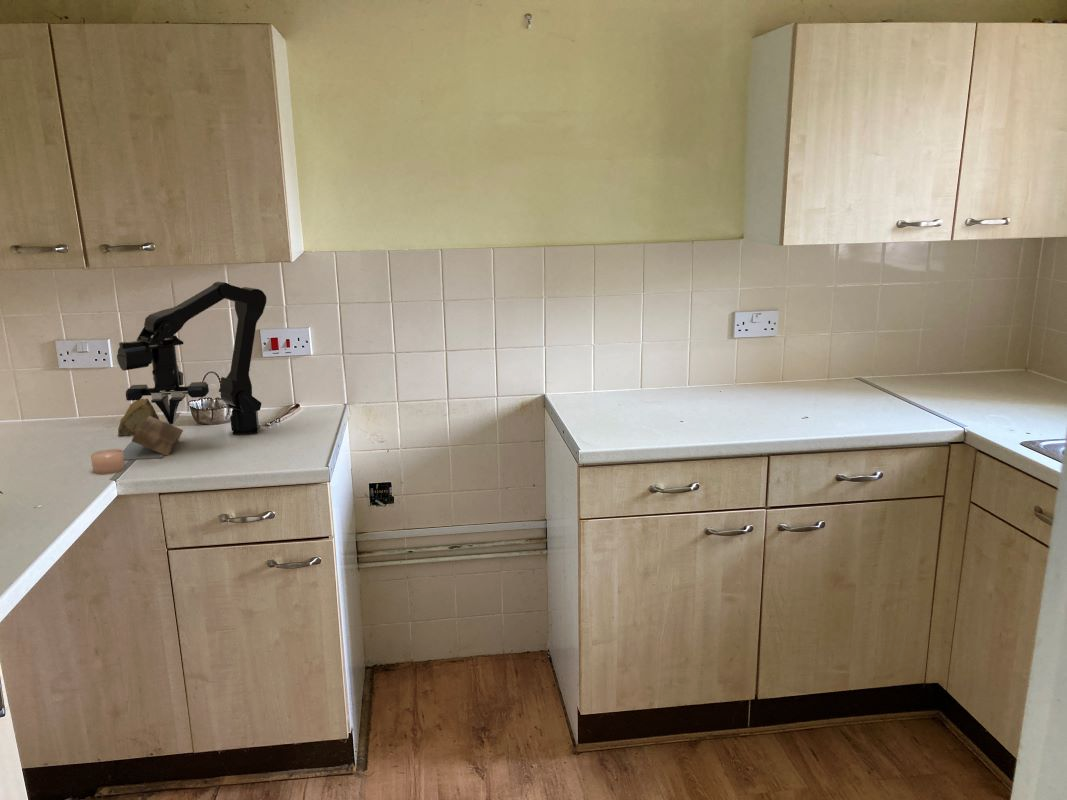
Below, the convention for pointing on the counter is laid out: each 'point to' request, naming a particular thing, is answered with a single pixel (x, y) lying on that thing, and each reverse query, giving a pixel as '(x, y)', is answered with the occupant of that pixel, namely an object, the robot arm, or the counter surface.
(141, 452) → the mat
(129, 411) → the rock
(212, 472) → the counter surface
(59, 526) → the counter surface
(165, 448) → the slab
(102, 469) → the peach rounded cylinder
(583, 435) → the counter surface
